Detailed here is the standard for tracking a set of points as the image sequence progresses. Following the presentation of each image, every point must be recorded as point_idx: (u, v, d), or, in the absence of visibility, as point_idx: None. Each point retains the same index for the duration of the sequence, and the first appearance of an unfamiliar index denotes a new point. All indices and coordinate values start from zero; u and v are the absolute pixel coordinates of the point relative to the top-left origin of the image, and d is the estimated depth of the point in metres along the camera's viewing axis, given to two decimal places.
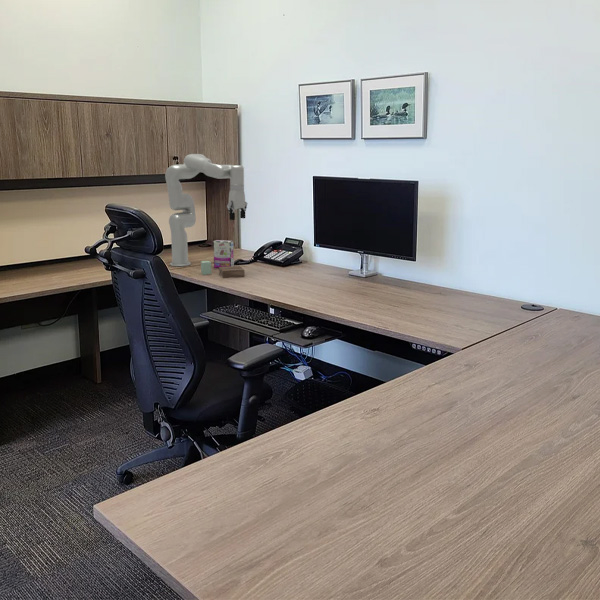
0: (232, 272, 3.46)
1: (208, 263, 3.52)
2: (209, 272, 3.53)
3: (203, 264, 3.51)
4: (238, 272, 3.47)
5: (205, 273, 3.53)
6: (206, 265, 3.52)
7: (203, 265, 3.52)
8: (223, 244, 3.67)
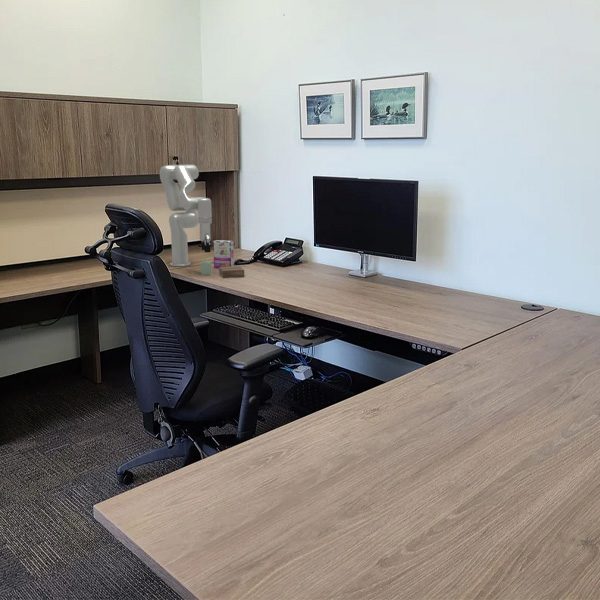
0: (232, 272, 3.46)
1: (208, 263, 3.52)
2: (209, 272, 3.53)
3: (203, 264, 3.51)
4: (238, 272, 3.47)
5: (205, 273, 3.53)
6: (206, 265, 3.52)
7: (203, 265, 3.52)
8: (223, 244, 3.67)
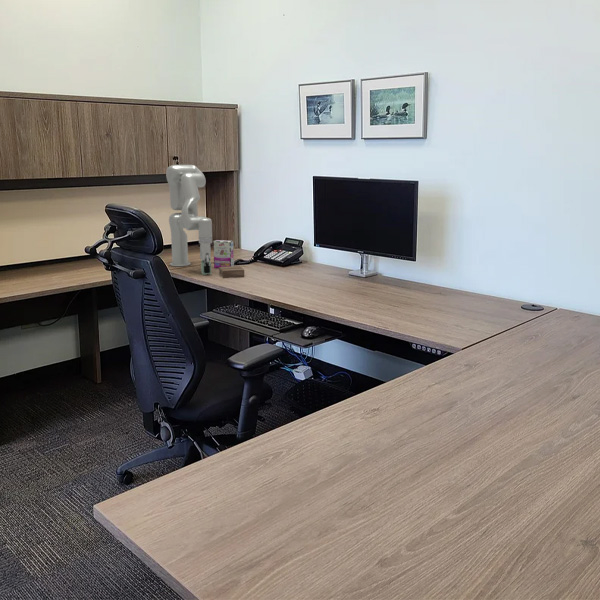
0: (232, 272, 3.46)
1: None
2: None
3: (203, 264, 3.51)
4: (238, 272, 3.47)
5: (205, 273, 3.53)
6: None
7: (203, 265, 3.52)
8: (223, 244, 3.67)
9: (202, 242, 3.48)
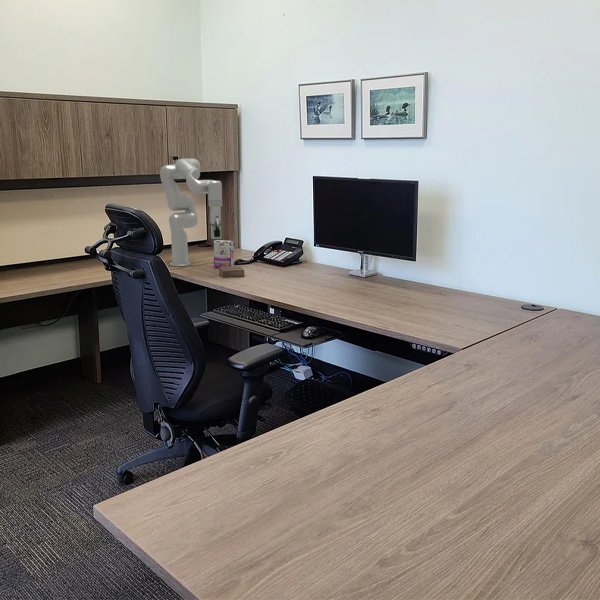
0: (232, 272, 3.46)
1: None
2: None
3: (213, 228, 3.45)
4: (238, 272, 3.47)
5: (215, 237, 3.46)
6: None
7: (213, 229, 3.45)
8: (223, 244, 3.67)
9: (212, 205, 3.41)
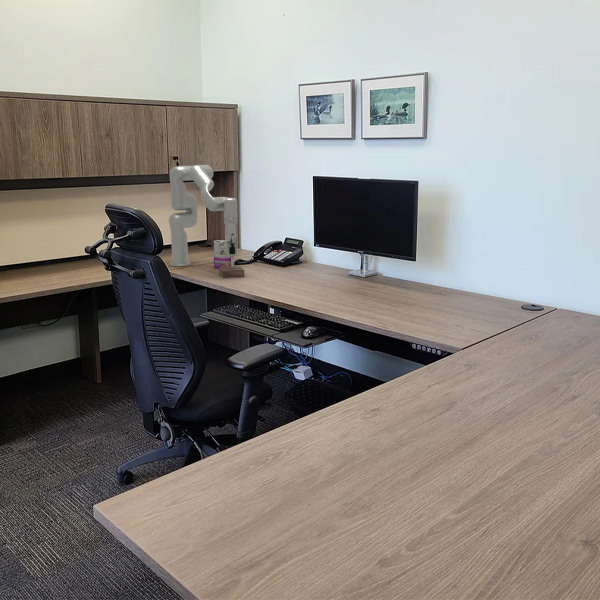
0: (232, 272, 3.46)
1: None
2: None
3: (228, 245, 3.45)
4: (238, 272, 3.47)
5: (230, 254, 3.46)
6: None
7: (228, 246, 3.45)
8: (223, 244, 3.67)
9: (227, 222, 3.41)
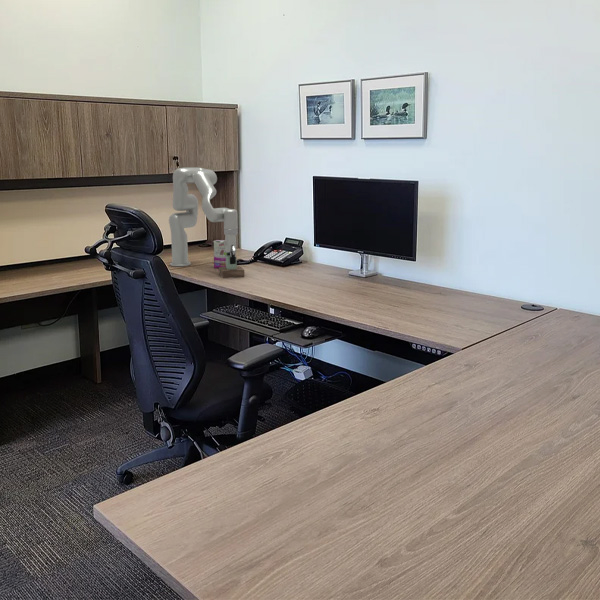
0: (232, 272, 3.46)
1: None
2: (234, 266, 3.49)
3: (228, 258, 3.47)
4: (238, 272, 3.47)
5: (230, 267, 3.48)
6: None
7: (228, 259, 3.47)
8: (223, 244, 3.67)
9: (228, 233, 3.43)
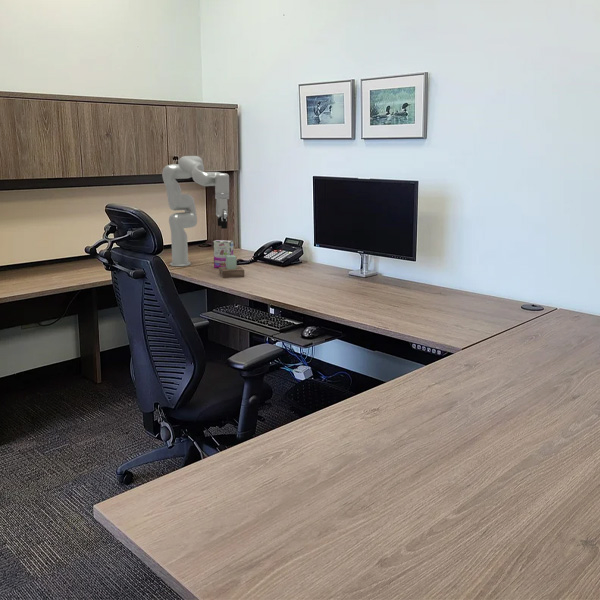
0: (232, 272, 3.46)
1: (233, 257, 3.48)
2: (234, 266, 3.49)
3: (228, 258, 3.47)
4: (238, 272, 3.47)
5: (230, 267, 3.48)
6: (231, 259, 3.47)
7: (228, 259, 3.47)
8: (223, 244, 3.67)
9: (219, 198, 3.40)
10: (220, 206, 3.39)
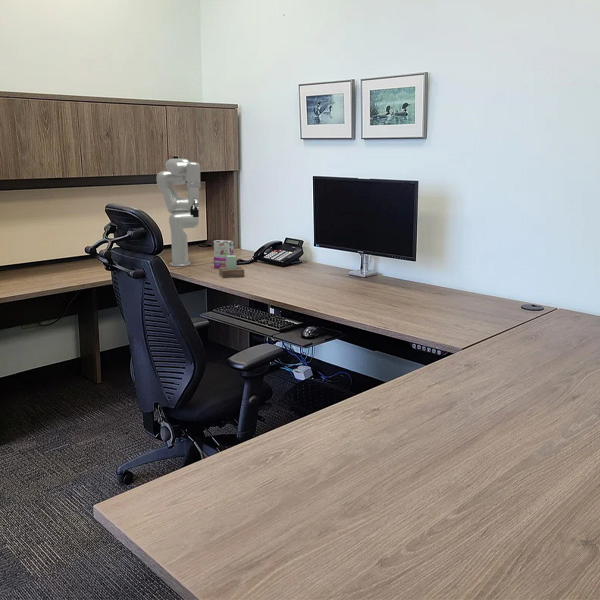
0: (232, 272, 3.46)
1: (233, 257, 3.48)
2: (234, 266, 3.49)
3: (228, 258, 3.47)
4: (238, 272, 3.47)
5: (230, 267, 3.48)
6: (231, 259, 3.47)
7: (228, 259, 3.47)
8: (223, 244, 3.67)
9: (190, 187, 3.44)
10: (191, 195, 3.43)
